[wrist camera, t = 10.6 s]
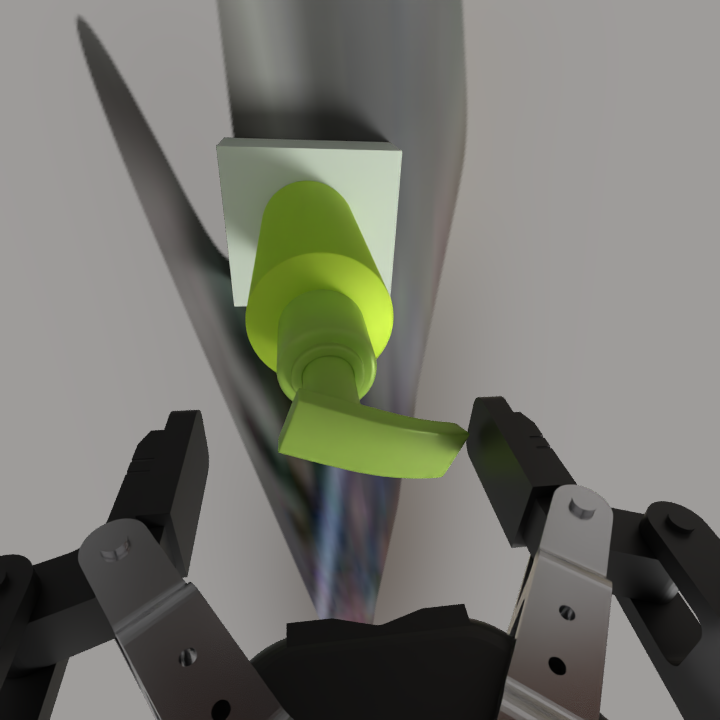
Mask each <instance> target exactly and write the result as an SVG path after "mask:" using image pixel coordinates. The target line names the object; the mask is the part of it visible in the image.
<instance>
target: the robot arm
mask: <svg viewBox="0 0 720 720" xmlns="http://www.w3.org/2000/svg"><path fill="white" fill-rule="evenodd" d="M468 433H469V434H470V435H469V437H468V438H467V440H466V444H467V451H468V455H469V457H470V459H471V462H472V464H473V466H474V468H475V470H476V472H477V474H478V477H479V479H480V481H481V483H482V485H483V488H484V489H485V492H486V494H487V496H488V498H489V500H490V503H491V505H492V507H493V509H494V511H495V513H496V515H497V518H498V520H499V522H500V524H501V526H502V528H503V530H504V533H505V535H506V537H507V539H508V541H509V543H510V545H511V547H512V548H515V547H526V546H527V548H528V550H529V552H530V557H529V560H528V563H527V566H526V569H525V573H524V576H523V580H522V583H521V587H520V590H519V594H518V597H517V601H516V604H515V608H514V611H513V615H512V618H511V621H510V624H509V627H508V630H507V633H505V632H504V631H502V630H500V629H498V628H496V627H495V626H492V625H490V624H487V623H485V622H482V621H478V620H475V619H470V618H469V617H468V615H467V611H466V608H465V605H464V604H458V605H449V606H440V607H432V608H423V609H420V610H417V611H415V612H412V613H410V614H408V615H405V616H403V617H400V618H398V619H395V620H393V621H390V622H388V623H386V624H383V625H371V624H365V623H358V622H352V621H345V620H339V619H332V618H331V619H322V620H313V621H304V622H295V623H287V638H285V639H283V640H280V641H278V642H276V643H274V644H272V645H270V646H269V647H267V648H265V649H264V650H263V651H261V652H260V653H258V654H257V655H256V656H255V657H254V658H252V659H251V660H250V661H249V660H248V658H247V657H246V656H245V654H244V653H243V652H242V650H241V649H240V647H239V646H238V645H237V643H236V642H235V641H234V639H233V638H232V636H231V635H230V633H229V632H228V631H227V629H226V628H225V626H224V625H223V624H222V622H221V621H220V619H219V618H218V617H217V615H216V614H215V612H214V611H213V610H212V608H211V607H210V605H209V604H208V603H207V601H206V600H205V598H204V597H203V596H202V594H201V593H200V591H199V590H198V589H197V587H195V585H194V584H193V583H191V582H189V583H188V584H187V583H186V582H185V581H184V580H183V577H187V575H188V571H189V566H190V560H191V555H192V550H193V545H194V540H195V535H196V530H197V525H198V520H199V515H200V510H201V505H202V500H203V495H204V490H205V485H206V480H207V475H208V468H209V455H208V447H207V441H206V436H205V431H204V425H203V419H202V414H201V411H200V410H189V411H188V410H186V411H172V412H171V413H170V415H169V418H168V421H167V424H166V426H165V430H155V431H150V433H148V435H147V436H146V437H145V438H144V439H143V440H142V441H141V442H140V443H139V444H138V445H137V448H136V450H135V453H134V455H133V458H132V462H131V463H130V465H129V468H128V470H127V475H125V478H124V481H123V483H122V485H121V488H120V490H119V493H118V496H117V498H116V501H115V503H114V506H113V508H112V510H111V513H110V516H109V518H108V520H107V522H106V524H104V525H102V526H100V527H99V528H97V529H96V530H94V531H93V532H92V533H91V534H90V535H89V536H88V537H87V538H86V539H85V540H84V542H83V544H82V545H81V547H80V548H79V549H78V550H75V551H73V552H71V553H68V554H65V555H62V556H59V557H57V558H54V559H51V560H48V561H45V562H42V563H39V564H36V565H32V564H31V562H30V561H29V560H28V559H27V558H26V557H24V556H21V555H14V554H12V555H3V556H0V720H50V717H51V714H52V711H53V707H54V704H55V701H56V698H57V695H58V692H59V688H60V685H61V682H62V679H63V676H64V672H65V669H66V666H67V663H68V660H69V657H71V656H74V655H76V654H78V653H81V652H83V651H85V650H88V649H91V648H93V647H95V646H98V645H100V644H102V643H105V642H107V641H109V640H112V639H115V641H116V643H117V645H118V647H119V649H120V651H121V653H122V655H123V657H124V658H125V661H126V663H127V664H128V666H129V668H130V670H131V672H132V674H133V676H134V678H135V680H136V682H137V684H138V686H139V688H140V690H141V692H142V693H143V696H144V698H145V699H146V701H147V703H148V705H149V707H150V709H151V712H152V714H153V716H154V718H155V720H608V719H607V718H605V717H604V716H603V715H602V714H601V713H600V702H601V694H602V684H603V674H604V665H605V655H606V646H607V636H608V626H609V617H610V607H611V606H610V605H611V597H612V594H613V595H615V596H616V598H617V600H618V601H619V604H620V605H621V607H622V609H623V611H624V613H625V614H626V616H627V618H628V620H629V622H630V623H631V625H632V627H633V629H634V630H635V632H636V634H637V636H638V638H639V639H640V641H641V643H642V645H643V647H644V648H645V650H646V652H647V654H648V656H649V657H650V659H651V661H652V663H653V664H654V666H655V668H656V670H657V672H658V673H659V675H660V677H661V679H662V681H663V682H664V684H665V686H666V688H667V690H668V691H669V693H670V695H671V697H672V698H673V700H674V702H675V704H676V705H677V707H678V709H679V711H680V713H681V715H682V717H683V718H684V720H720V539H719V538H718V537H717V535H715V533H714V532H713V531H712V529H711V528H710V527H709V526H708V525H707V524H706V523H705V522H704V521H703V519H702V518H700V517H699V516H698V515H697V514H695V513H694V512H692V511H691V510H689V509H687V508H685V507H683V506H681V505H678V504H675V503H672V502H665V501H660V502H655V503H652V504H651V505H650V506H649V507H648V509H647V511H646V512H645V514H641V513H635V512H630V511H625V510H620V509H615V508H611V507H610V506H609V504H608V503H607V502H606V501H605V499H604V498H603V497H601V496H600V495H599V494H597V493H596V492H594V491H592V490H591V489H588V488H586V487H583V486H579V485H577V484H576V482H575V481H574V479H573V478H572V477H571V475H570V474H569V472H568V471H567V469H566V468H565V467H564V465H563V464H562V462H561V461H560V460H559V458H558V456H557V455H556V454H555V452H554V451H553V449H552V448H550V445H549V444H548V442H547V441H546V439H545V438H543V435H542V433H541V432H540V430H539V429H538V428H537V426H536V425H535V423H534V422H533V421H531V420H530V419H529V418H527V417H526V416H525V415H523V414H522V413H521V412H513V411H512V410H511V408H510V406H509V405H508V403H507V402H506V400H505V399H504V398H503V397H502V396H498V397H497V396H496V397H478V398H476V399H475V401H474V404H473V409H472V414H471V419H470V423H469V428H468ZM678 591H680V592H681V594H682V595H683V596H684V598H685V600H686V601H687V603H688V604H689V605H690V607H691V608H692V610H693V611H694V613H695V614H696V616H697V617H698V620H699V622H700V623H699V622H698V620H697V619H696V618H695V616H694V615H693V613H692V612H691V610H690V609H689V607H688V606H687V604H686V603H685V601H684V600H683V599H682V597H681V596H680V594H679V593H678Z"/></svg>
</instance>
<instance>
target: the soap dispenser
mask: <svg viewBox="0 0 720 720" xmlns="http://www.w3.org/2000/svg"><path fill="white" fill-rule="evenodd" d="M392 327H393V306H392V302H391V298H390V295H389V293H388V290H387V288H386V286H385V284H384V282H383V279H382V277H381V275H380V273H379V271H378V268H377V266H376V264H375V262H374V260H373V257H372V255H371V253H370V251H369V249H368V246H367V244H366V242H365V240H364V238H363V235H362V233H361V231H360V229H359V227H358V224H357V222H356V220H355V218H354V216H353V213H352V211H351V209H350V207H349V205H348V203H347V202H346V200H345V199H344V198H343V197H342V196H341V195H340V194H339V193H338V192H337V191H336V190H335V189H333V188H331V187H330V186H328V185H326V184H323V183H320V182H316V181H298V182H294V183H291V184H289V185H287V186H285V187H283V188H281V189H280V190H279V191H277V192H276V193H275V194H274V195H273V196H272V198H271V199H270V200H269V202H268V204H267V205H266V207H265V210H264V213H263V217H262V222H261V228H260V234H259V239H258V245H257V251H256V257H255V262H254V268H253V274H252V280H251V285H250V291H249V297H248V303H247V308H246V329H247V334H248V337H249V340H250V343H251V345H252V347H253V349H254V350H255V352H256V354H257V355H258V356H259V358H260V359H261V360H262V361H263V362H264V363H265V364H266V365H267V366H268V367H270V368H271V369H272V370H274V371H275V372H277V378H278V381H279V384H280V387H281V389H282V390H283V392H284V393H285V394H286V396H287V397H288V398H289V399H291V400H292V401H293V402H292V405H291V408H290V410H289V413H288V415H287V418H286V420H285V423H284V426H283V428H282V431H281V433H280V436H279V439H278V452H279V453H283V454H286V455H290V456H294V457H298V458H301V459H305V460H309V461H313V462H317V463H321V464H325V465H329V466H333V467H337V468H342V469H346V470H350V471H355V472H360V473H365V474H371V475H378V476H385V477H395V478H438V477H442V476H443V475H444V474H445V472H446V471H447V469H448V468H449V466H450V465H451V463H452V462H453V460H454V458H455V457H456V456H457V454H458V452H459V451H460V449H461V448H462V446H463V445H464V443H465V441H466V440H467V438H468V437H469V435H470V434H469V433H468V432H467V431H465V430H464V429H463V428H461V427H460V426H459V425H457V424H455V423H450V422H438V421H430V420H423V419H417V418H412V417H408V416H403V415H399V414H395V413H391V412H387V411H383V410H379V409H376V408H372V407H368V406H364V405H361V404H360V399H361V398H362V397H363V396H364V395H365V394H366V393H367V392H368V391H369V389H370V388H371V386H372V384H373V382H374V379H375V376H376V368H377V364H376V359H377V358H378V356H379V355H380V354H381V353H382V351H383V350H384V348H385V346H386V344H387V342H388V340H389V338H390V335H391V331H392Z"/></svg>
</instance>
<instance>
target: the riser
mask: <svg viewBox="0 0 720 720" xmlns="http://www.w3.org/2000/svg"><path fill="white" fill-rule="evenodd" d="M216 148H217V157H218V166H219V175H220V183H221V192H222V200H223V210H224V219H225V228H226V236H227V245H228V254H229V263H230V271H231V280H232V289H233V298H234V306H247V303H248V297H249V291H250V285H251V280H252V274H253V268H254V262H255V257H256V251H257V245H258V239H259V234H260V228H261V222H262V217H263V213H264V210H265V207H266V205H267V204H268V202H269V200H270V199H271V198H272V196H273V195H274V194H275V193H276V192H277V191H279V190H280V189H281V188H283V187H285V186H287V185H289V184H291V183H294V182H298V181H316V182H320V183H323V184H326V185H328V186H330V187H331V188H333V189H335V190H336V191H337V192H338V193H339V194H340V195H341V196H342V197H343V198H344V199H345V200H346V202H347V203H348V205H349V207H350V209H351V211H352V213H353V216H354V218H355V220H356V222H357V224H358V227H359V229H360V231H361V233H362V235H363V238H364V240H365V242H366V244H367V246H368V249H369V251H370V253H371V255H372V257H373V260H374V262H375V264H376V266H377V268H378V271H379V273H380V275H381V277H382V279H383V282H384V284H385V286H386V288H387V290H388V293H389V295H390V293H391V280H392V268H393V256H394V244H395V232H396V220H397V208H398V195H399V183H400V171H401V159H402V151H401V150H400V149H399V148H397V147H396V146H394V145H393V144H392V143H390V142H363V141H328V140H293V139H258V138H224V139H223V140H222V141H221V142H220V143H219V144H218V145H217V146H216Z"/></svg>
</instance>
